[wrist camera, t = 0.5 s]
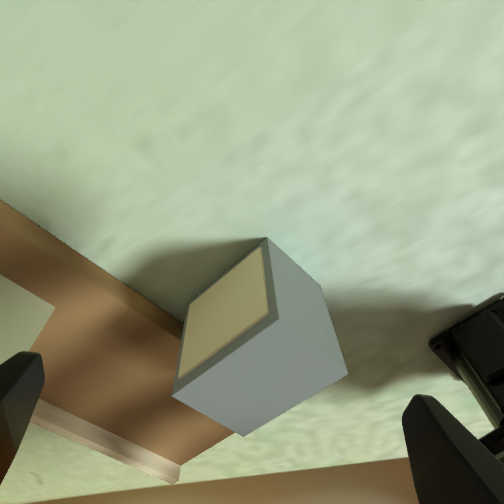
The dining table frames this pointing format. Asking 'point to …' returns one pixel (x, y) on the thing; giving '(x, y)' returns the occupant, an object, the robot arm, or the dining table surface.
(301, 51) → the dining table surface
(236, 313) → the tea tin
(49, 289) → the shelf
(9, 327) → the sage tin
